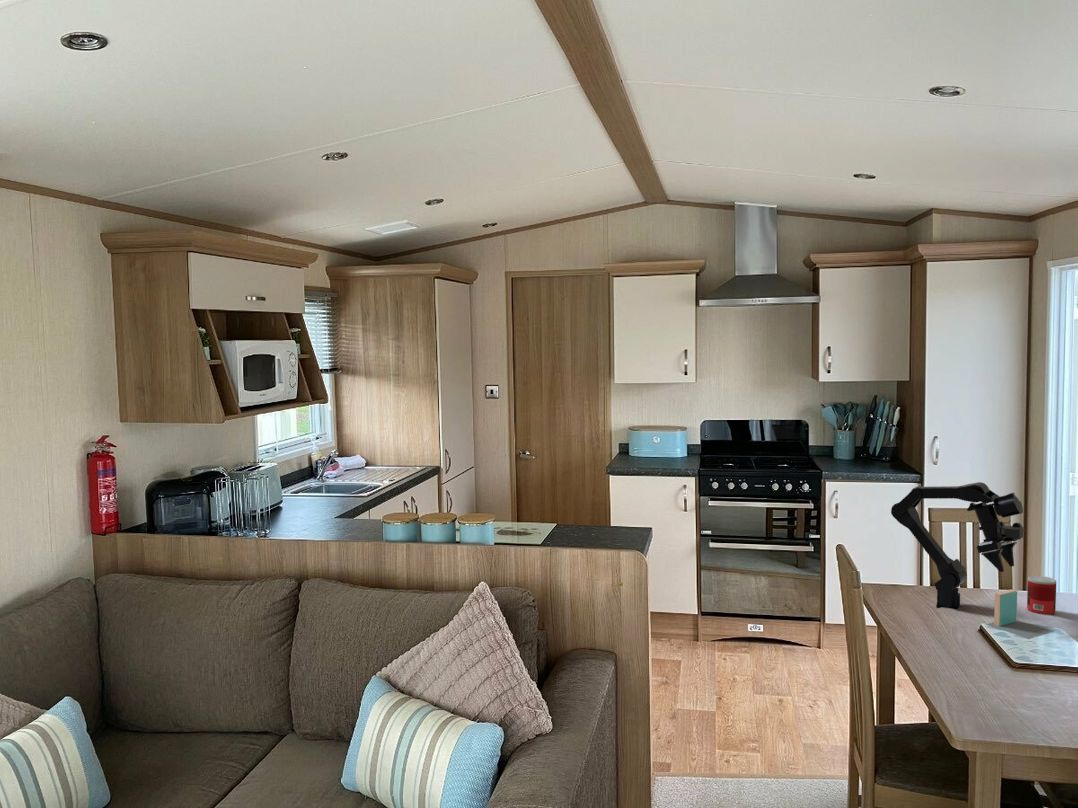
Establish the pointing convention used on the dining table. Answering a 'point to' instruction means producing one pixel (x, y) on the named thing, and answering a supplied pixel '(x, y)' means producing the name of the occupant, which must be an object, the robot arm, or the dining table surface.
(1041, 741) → the dining table surface
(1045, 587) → the canned food
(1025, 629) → the mat
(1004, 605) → the tile
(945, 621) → the dining table surface
